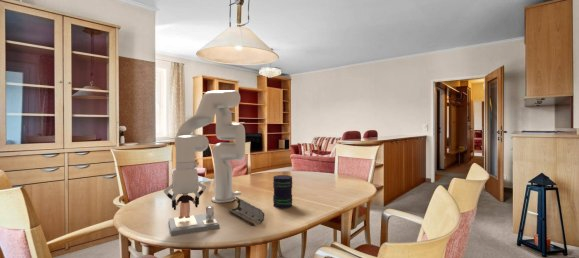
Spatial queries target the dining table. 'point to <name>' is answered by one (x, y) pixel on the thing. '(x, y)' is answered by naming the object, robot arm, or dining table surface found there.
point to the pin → (209, 214)
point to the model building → (248, 211)
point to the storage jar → (282, 191)
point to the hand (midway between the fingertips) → (185, 207)
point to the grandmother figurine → (185, 205)
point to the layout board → (191, 224)
